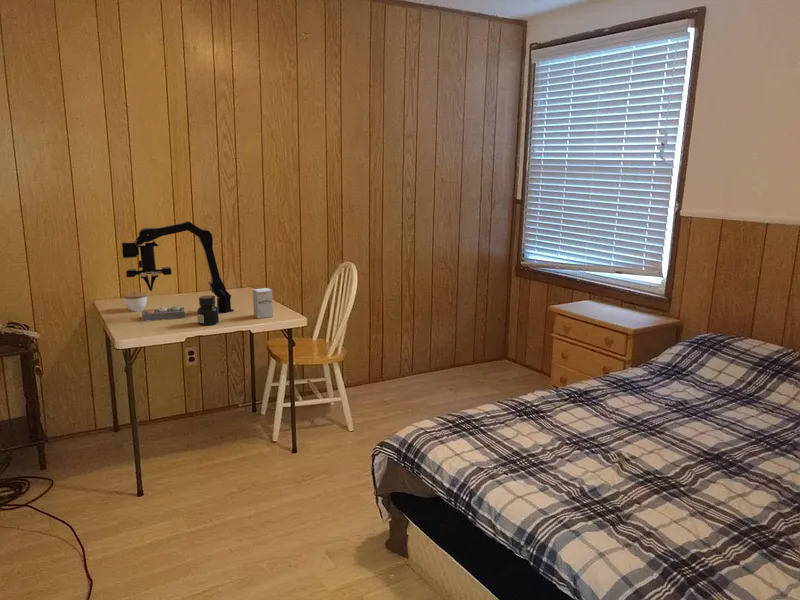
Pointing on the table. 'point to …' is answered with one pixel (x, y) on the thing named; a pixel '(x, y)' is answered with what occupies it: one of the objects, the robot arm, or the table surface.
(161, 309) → the cream button
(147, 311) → the terracotta button
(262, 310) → the supplement box
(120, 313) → the table surface
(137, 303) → the lidded jar
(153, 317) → the button panel
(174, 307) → the sage button
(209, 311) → the ink bottle
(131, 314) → the table surface
